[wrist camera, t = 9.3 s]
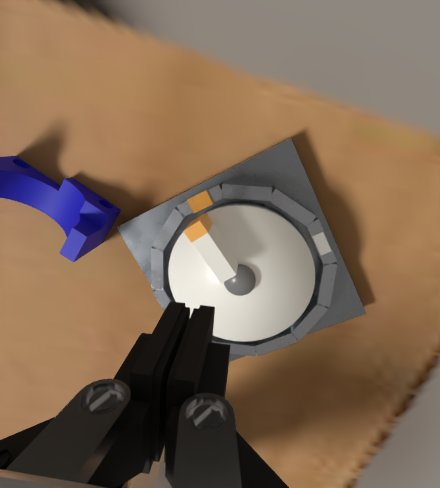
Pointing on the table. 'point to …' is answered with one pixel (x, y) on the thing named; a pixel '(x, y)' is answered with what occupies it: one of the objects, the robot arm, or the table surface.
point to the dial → (243, 270)
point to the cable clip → (60, 205)
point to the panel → (268, 195)
